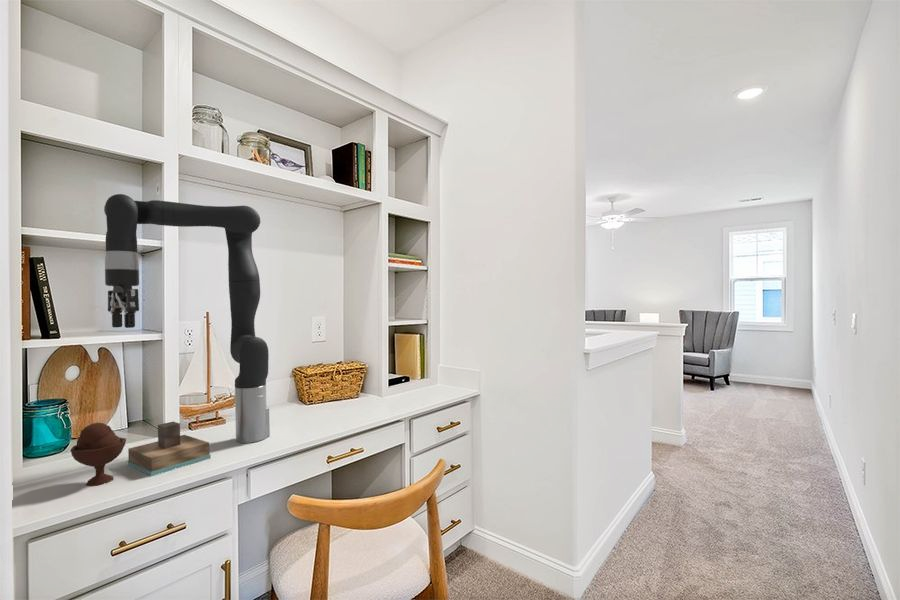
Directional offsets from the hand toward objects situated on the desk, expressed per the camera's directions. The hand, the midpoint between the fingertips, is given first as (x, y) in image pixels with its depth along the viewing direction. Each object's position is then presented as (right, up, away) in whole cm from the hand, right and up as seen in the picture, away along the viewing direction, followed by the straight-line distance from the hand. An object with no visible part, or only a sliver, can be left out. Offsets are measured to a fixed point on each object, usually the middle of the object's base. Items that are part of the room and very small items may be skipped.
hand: (123, 327), depth 121 cm
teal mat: (+11, -38, +3) cm, 40 cm away
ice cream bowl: (+2, -38, -11) cm, 40 cm away
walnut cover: (+11, -37, +3) cm, 39 cm away
